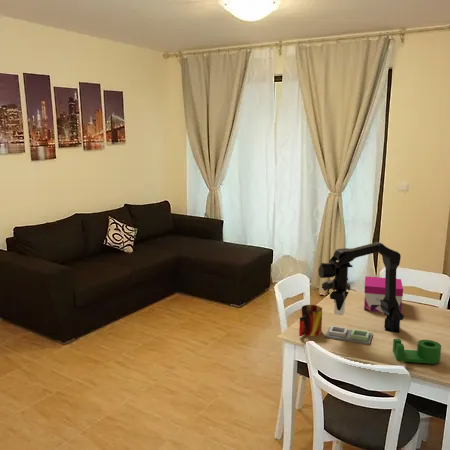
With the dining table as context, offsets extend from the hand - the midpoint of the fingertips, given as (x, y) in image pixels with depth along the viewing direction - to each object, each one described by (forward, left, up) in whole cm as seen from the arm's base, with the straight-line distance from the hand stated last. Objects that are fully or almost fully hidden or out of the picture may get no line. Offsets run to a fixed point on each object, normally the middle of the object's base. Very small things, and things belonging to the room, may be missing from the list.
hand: (339, 308), depth 213 cm
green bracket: (-35, +10, -13) cm, 38 cm away
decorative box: (-15, -45, -13) cm, 49 cm away
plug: (0, 0, -2) cm, 2 cm away
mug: (+12, +4, -13) cm, 18 cm away
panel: (-5, 0, -13) cm, 14 cm away
